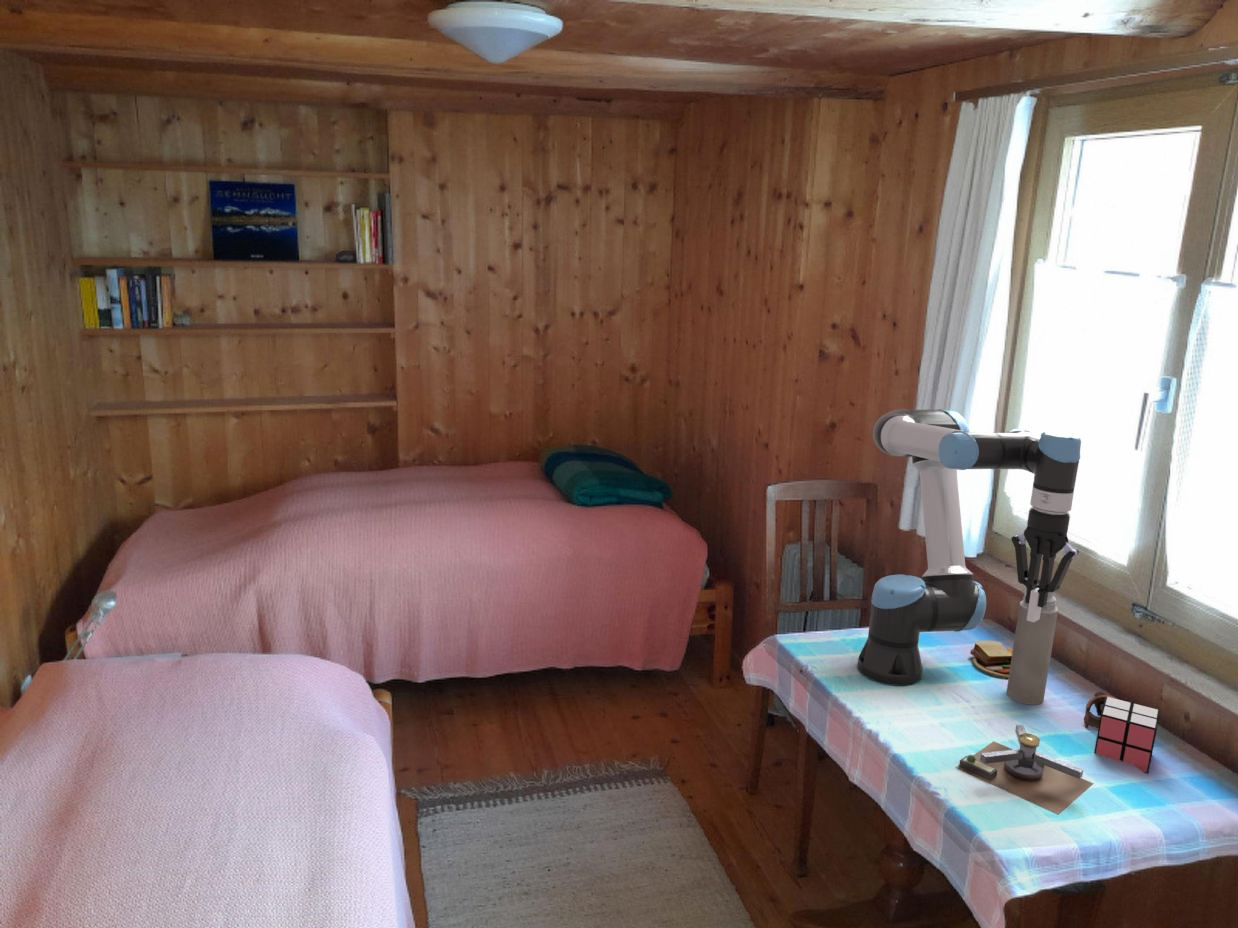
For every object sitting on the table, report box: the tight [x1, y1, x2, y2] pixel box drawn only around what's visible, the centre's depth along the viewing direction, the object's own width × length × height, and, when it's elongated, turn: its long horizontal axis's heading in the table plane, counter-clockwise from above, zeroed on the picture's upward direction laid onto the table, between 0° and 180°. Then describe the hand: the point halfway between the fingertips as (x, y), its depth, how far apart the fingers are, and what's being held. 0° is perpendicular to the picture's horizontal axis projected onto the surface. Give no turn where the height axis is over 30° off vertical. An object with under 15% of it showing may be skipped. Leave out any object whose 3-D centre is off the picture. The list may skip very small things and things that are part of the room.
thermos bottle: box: [1006, 579, 1059, 705], centre depth 216 cm, size 8×8×28 cm
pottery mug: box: [1083, 690, 1118, 729], centre depth 207 cm, size 12×10×8 cm
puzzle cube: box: [1093, 697, 1161, 774], centre depth 194 cm, size 10×10×10 cm
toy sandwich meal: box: [969, 640, 1013, 679], centre depth 234 cm, size 12×14×5 cm
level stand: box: [955, 740, 1094, 815], centre depth 184 cm, size 20×16×4 cm
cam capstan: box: [980, 724, 1084, 781], centre depth 185 cm, size 16×18×8 cm
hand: (1033, 619), depth 195 cm, fingers closed
